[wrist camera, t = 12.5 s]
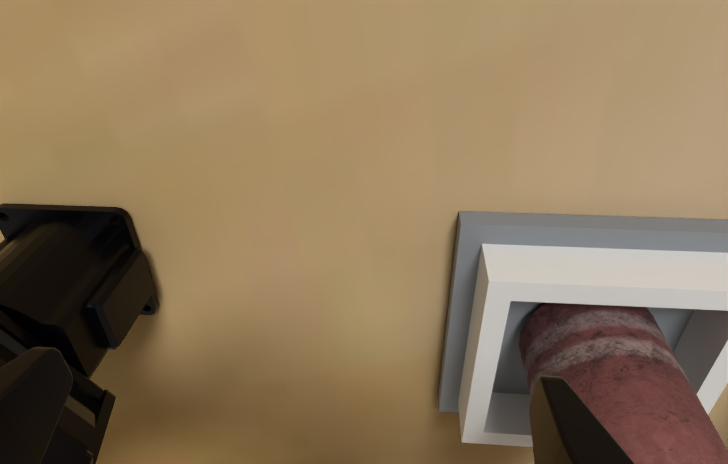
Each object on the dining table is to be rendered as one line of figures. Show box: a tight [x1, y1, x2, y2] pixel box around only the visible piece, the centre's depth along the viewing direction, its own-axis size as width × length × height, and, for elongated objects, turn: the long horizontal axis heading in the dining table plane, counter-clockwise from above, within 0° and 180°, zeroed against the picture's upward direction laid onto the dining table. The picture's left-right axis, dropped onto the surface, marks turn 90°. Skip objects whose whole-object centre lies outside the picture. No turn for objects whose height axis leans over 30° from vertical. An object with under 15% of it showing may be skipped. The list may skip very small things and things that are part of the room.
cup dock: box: [438, 211, 728, 447], centre depth 24 cm, size 13×13×4 cm
